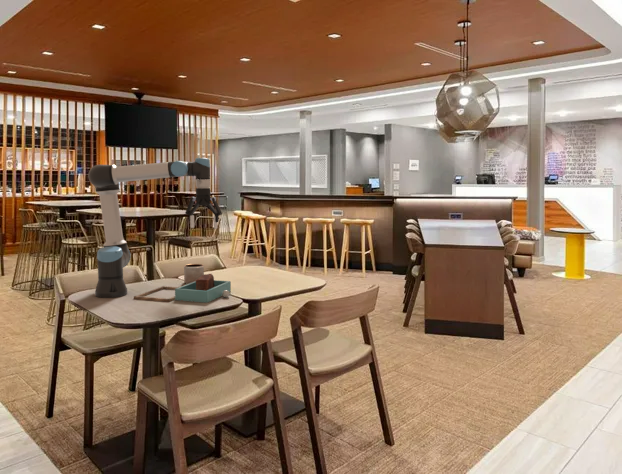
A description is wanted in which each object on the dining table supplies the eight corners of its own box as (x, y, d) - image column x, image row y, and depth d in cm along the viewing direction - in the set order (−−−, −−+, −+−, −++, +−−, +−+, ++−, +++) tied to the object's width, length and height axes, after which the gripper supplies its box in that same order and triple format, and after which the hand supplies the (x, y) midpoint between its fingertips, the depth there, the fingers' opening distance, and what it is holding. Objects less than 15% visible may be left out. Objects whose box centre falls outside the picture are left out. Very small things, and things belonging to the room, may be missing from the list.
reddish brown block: (208, 297, 255) (208, 279, 254) (194, 297, 255) (194, 279, 254) (214, 289, 273) (214, 272, 272) (202, 289, 273) (202, 271, 272)
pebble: (220, 297, 258) (220, 290, 257) (224, 296, 261) (224, 289, 261) (227, 298, 257) (227, 291, 256) (230, 296, 260) (230, 289, 260)
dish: (175, 300, 253) (174, 288, 252) (200, 289, 277) (200, 279, 276) (207, 302, 248) (207, 291, 247) (230, 291, 272) (230, 281, 271)
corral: (133, 298, 255) (133, 296, 254) (163, 288, 279) (162, 286, 279) (169, 301, 249) (169, 299, 249) (195, 290, 273) (195, 288, 273)
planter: (195, 279, 302) (194, 263, 301) (208, 281, 296) (207, 265, 295) (180, 282, 294) (179, 265, 293) (193, 285, 287) (193, 267, 286)
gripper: (178, 187, 276) (179, 228, 278) (221, 188, 269) (222, 229, 271) (185, 187, 283) (186, 226, 285) (228, 187, 276) (228, 228, 278)
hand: (203, 228), depth 278 cm, fingers open, 13 cm apart
